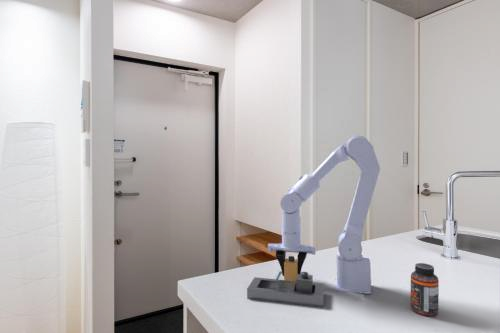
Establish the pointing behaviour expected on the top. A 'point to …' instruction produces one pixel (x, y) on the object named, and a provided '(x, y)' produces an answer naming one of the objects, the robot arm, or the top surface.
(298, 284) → the grey block with knob
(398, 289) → the top surface
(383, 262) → the top surface
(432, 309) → the supplement bottle
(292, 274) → the plug
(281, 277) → the tray
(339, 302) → the top surface
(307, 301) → the strip
